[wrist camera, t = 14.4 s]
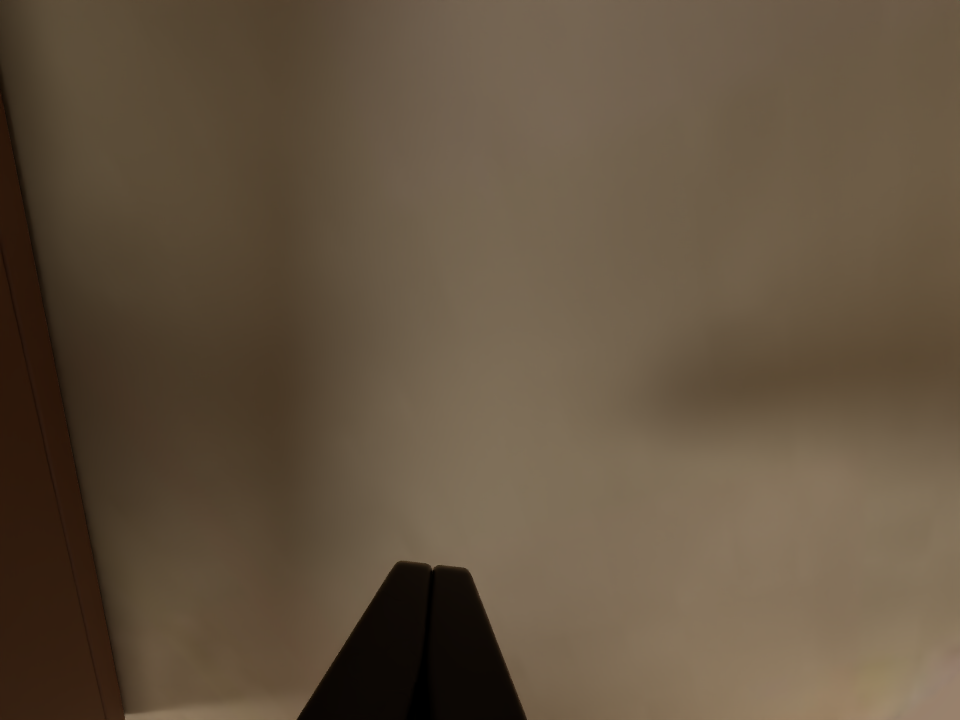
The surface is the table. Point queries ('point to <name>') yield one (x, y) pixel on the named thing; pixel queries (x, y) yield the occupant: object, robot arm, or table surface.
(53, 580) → the tray
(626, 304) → the table surface
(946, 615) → the table surface
